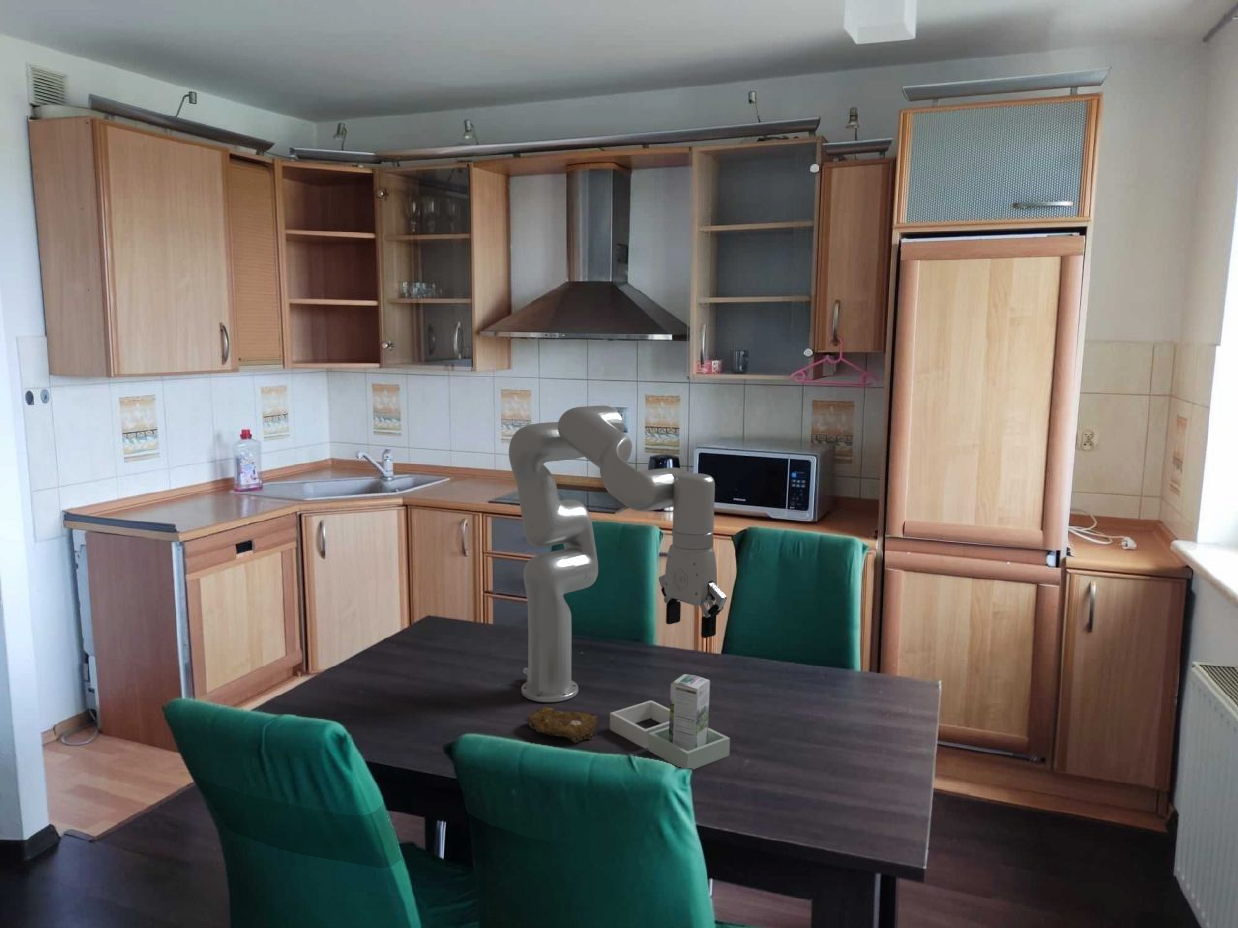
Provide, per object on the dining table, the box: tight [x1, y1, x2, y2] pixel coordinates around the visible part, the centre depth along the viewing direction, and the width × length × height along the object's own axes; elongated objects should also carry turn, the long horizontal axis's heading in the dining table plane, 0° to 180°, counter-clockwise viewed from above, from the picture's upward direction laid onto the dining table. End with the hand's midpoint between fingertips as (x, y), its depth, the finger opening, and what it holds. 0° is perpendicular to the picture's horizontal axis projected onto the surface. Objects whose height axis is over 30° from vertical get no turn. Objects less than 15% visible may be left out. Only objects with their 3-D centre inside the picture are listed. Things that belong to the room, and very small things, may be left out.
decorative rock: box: [524, 706, 599, 744], centre depth 184 cm, size 11×4×15 cm
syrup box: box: [669, 674, 711, 751], centre depth 174 cm, size 6×6×14 cm
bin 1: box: [609, 699, 670, 749], centre depth 184 cm, size 11×11×4 cm
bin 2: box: [648, 727, 731, 770], centre depth 175 cm, size 11×11×4 cm
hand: (690, 629), depth 172 cm, fingers open, 9 cm apart
